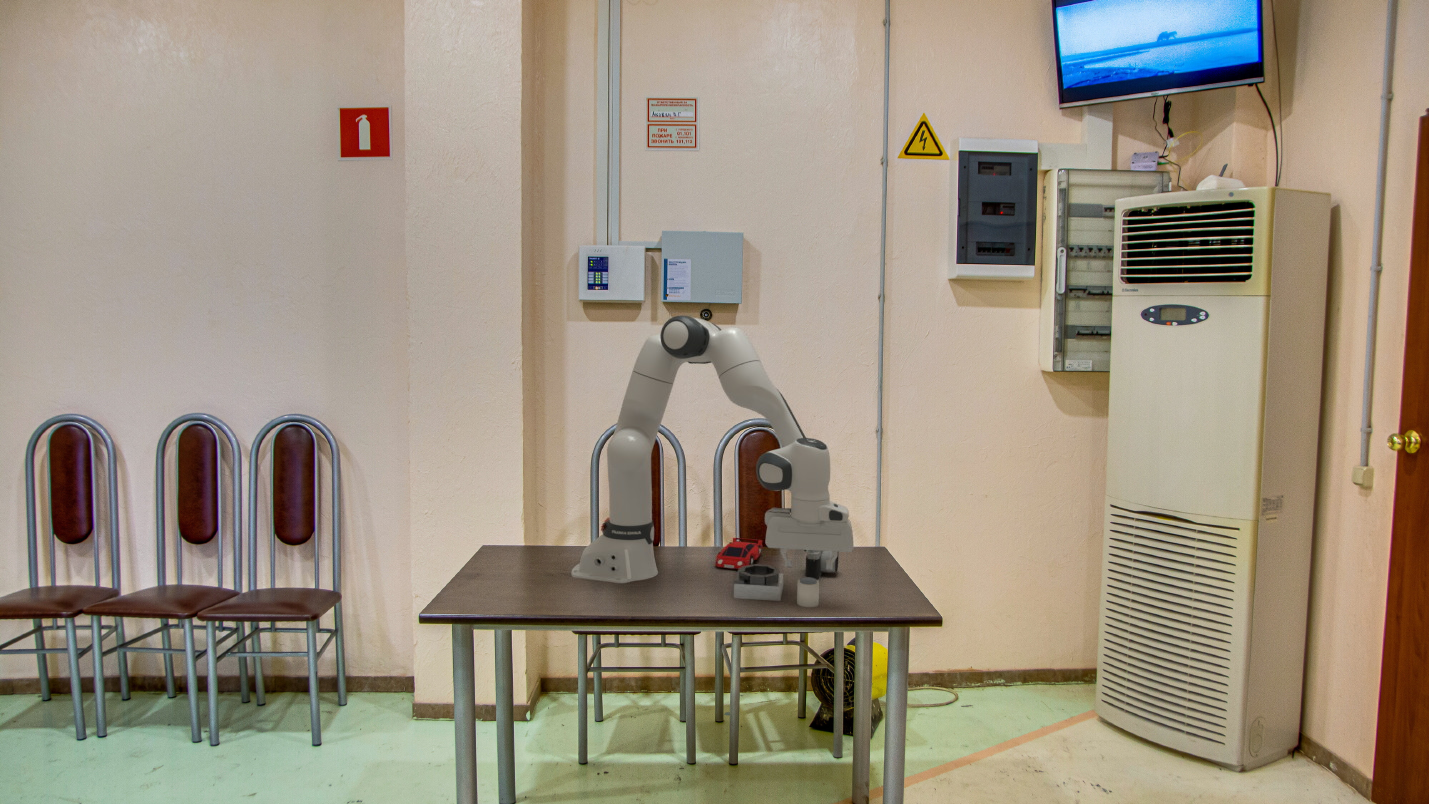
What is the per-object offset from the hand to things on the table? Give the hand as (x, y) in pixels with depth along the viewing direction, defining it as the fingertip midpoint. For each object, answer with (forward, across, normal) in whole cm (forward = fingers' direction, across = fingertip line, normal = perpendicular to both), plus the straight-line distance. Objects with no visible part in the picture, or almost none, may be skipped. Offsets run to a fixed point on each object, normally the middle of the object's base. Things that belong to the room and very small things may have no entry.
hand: (808, 567), depth 181 cm
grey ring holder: (+9, -12, +6) cm, 16 cm away
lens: (+9, 0, 0) cm, 9 cm away
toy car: (+10, -20, +33) cm, 40 cm away
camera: (+10, +2, +24) cm, 26 cm away
